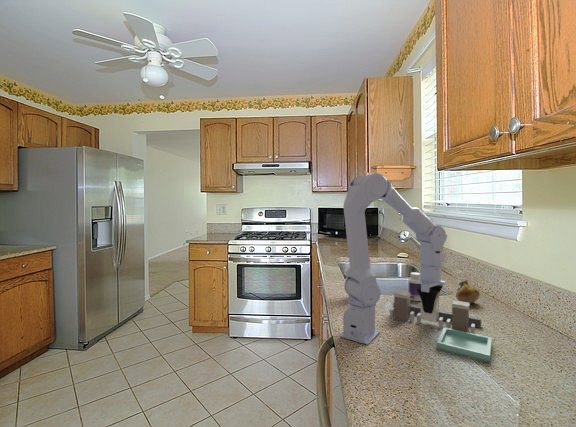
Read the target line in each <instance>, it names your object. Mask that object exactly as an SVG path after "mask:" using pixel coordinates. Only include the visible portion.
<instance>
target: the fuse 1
mask: <svg viewBox="0 0 576 427" xmlns="http://www.w3.org/2000/svg"><path fill="white" fill-rule="evenodd" d="M393 297H394V298H393V300H394V301H393V303H394V317H393V319H394V320H397V321H402V322H405V323H407V322H408V321H410V305H411V300H410V293H409V292H408V291H402V290H397V291H395V292H394V294H393Z"/></svg>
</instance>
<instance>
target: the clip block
mask: <svg viewBox="0 0 576 427" xmlns="http://www.w3.org/2000/svg"><path fill="white" fill-rule="evenodd" d="M415 315H416V324H420V323H422V319H421V305H415V304H410V318H409V322H411V323H413V322H414V321H415ZM389 317H390V318H393V319H394V302H393V305H392V307H391V308H390V309H389ZM444 321H446V324H445V325H446V326H445V328H450V329H452V311H447V310H441V309H439V318H438V329H443V328H444ZM469 327H470V333H473V334H476V328H482V317H478V316H472V315H469Z"/></svg>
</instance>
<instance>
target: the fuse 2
mask: <svg viewBox="0 0 576 427" xmlns="http://www.w3.org/2000/svg"><path fill="white" fill-rule="evenodd" d="M470 306H471V304H470V303H468V302H462V301H459V300H453V302H452V304H451V312H452V322H451V329H455V330H459V331H464V332H468V333H470V332H469V331H470V325H469V316H470Z"/></svg>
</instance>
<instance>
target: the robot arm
mask: <svg viewBox="0 0 576 427" xmlns="http://www.w3.org/2000/svg"><path fill="white" fill-rule="evenodd" d="M347 186H348V191H347V193H346V196H345V199H344V202H343V215H344V225H345V232H346V234H345V235H346V243H347V244H346V245H347V252H348V260H349V261H348V262H349V268H348V269H347V271H346V272H345V273H346V274H345V276H346V278H345V281H344V285H343V287H344V291H345V292H346V294H347V296H348V298H347V302H348V306H347V308H346V310H344V313H343V316H342V317H343V319H342V320H343V322H342V324H343V328H342V333H340V334H339V337H340V338H342V339H347V340H351V341H353V342H357V343H361V344H364V345H369V344H371V342H372V341H374V339H375V338H376V337H377V336H379V334H380V332H381V330H380V329H376V305H377V303H378V302H379V300H380V298H381V294H382V291H381V288H380V286H379V285H378V283H377V277H376V275H375V273H374V272H373V270H372V267H371V268H370V260H371V259H370V260H369V258H370V254H369V253H370V252H369V243H368V242H369V241H368V233H367V225H366V224H367V223H366V222H367V221H366V214H365V211H366V210H367V208H368V207H369V206H370V205H371V204H372V203H373V202H375V201H377V200H382V201H383V202H385V203H386V204H388V206H390V207H391V208H392V209H393V210H394V211H396V212H397V213H399V215H400V216H401V220H402V223H404V225H405V226H406V227H408V228H409V229H410V230H411V231H412V232H413V233H415V237H416V240H417V241H418V242H420V251H419V254H420V255H419V273H420V278H419V282H420V284H421V287H418V288H417V292H418V293H419V295H420V298H421V301H422V305H423V310H424V312H426V313H431V314H432V312H433V308H434V302H435V299H436V296H437V294H438V292H439V294H440V293H441V290H442V289H443V286H444V285H445V286H446V283H447V282H446V280H442V261H443V259H442V256H443V255H442V252H443V250H444V245H445V243H446V242H447V239H448V238H447V237H448V234H446V233H447V232H446V230H445V229H444V227H443V226H441V225H438V224H435V223H434V222H435V221H434V220H433V219H431V218H429V217H428V216H427V215H426V213H424V210H423V209H422V208H420V207H419V208H418V207H412V206H411V205H410V204H409V203H408V202H407V201H406V200H405V199H404V198H403V196H402V195H401V194H400V193H399V192H398V191H397V190H396V189H395V188H394V187H393V184H392V181H390V180H389V179H387V177H386V176H384V174H382V173H378V172H375V173H373V174H366V175H358V176H355V177H354V178H353V179H352V181H351V182H349V183H348V185H347ZM421 301H420V302H421Z"/></svg>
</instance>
